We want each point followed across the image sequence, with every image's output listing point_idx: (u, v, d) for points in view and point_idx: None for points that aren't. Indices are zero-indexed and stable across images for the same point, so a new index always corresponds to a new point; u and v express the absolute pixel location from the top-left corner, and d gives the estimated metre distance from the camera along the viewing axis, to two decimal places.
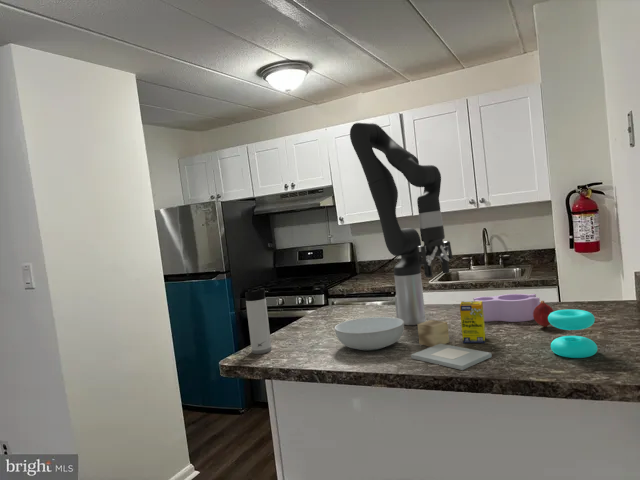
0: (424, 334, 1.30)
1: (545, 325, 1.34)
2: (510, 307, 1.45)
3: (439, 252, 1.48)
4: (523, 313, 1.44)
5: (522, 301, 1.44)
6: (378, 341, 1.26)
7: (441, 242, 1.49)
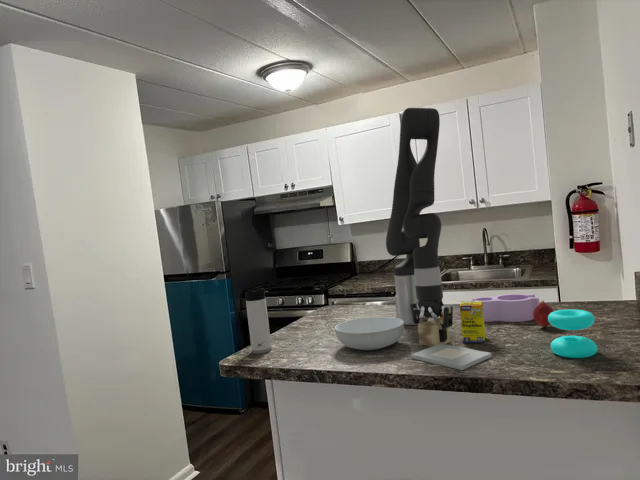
0: (424, 333, 1.30)
1: (545, 325, 1.34)
2: (510, 307, 1.45)
3: None
4: (523, 313, 1.44)
5: (522, 301, 1.44)
6: (378, 341, 1.26)
7: None
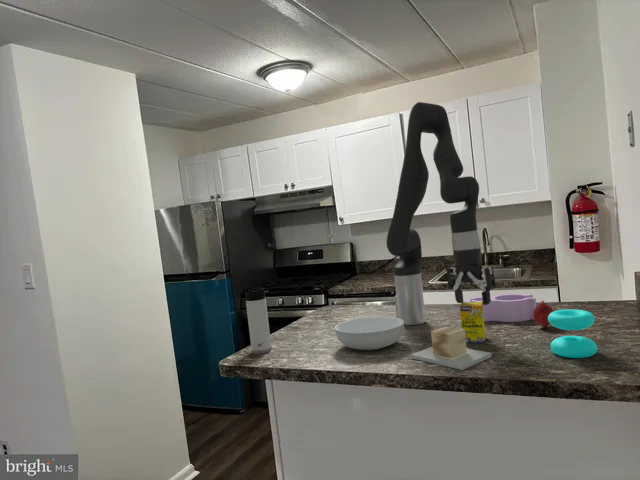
0: (438, 342, 1.16)
1: (545, 325, 1.34)
2: (506, 307, 1.46)
3: None
4: (519, 314, 1.45)
5: (518, 301, 1.45)
6: (378, 341, 1.26)
7: None
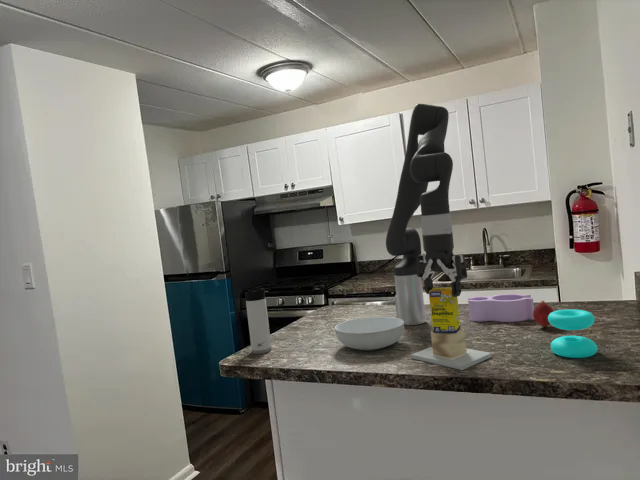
0: (438, 342, 1.16)
1: (545, 325, 1.34)
2: (503, 307, 1.46)
3: None
4: (516, 314, 1.45)
5: (515, 301, 1.45)
6: (378, 341, 1.26)
7: None
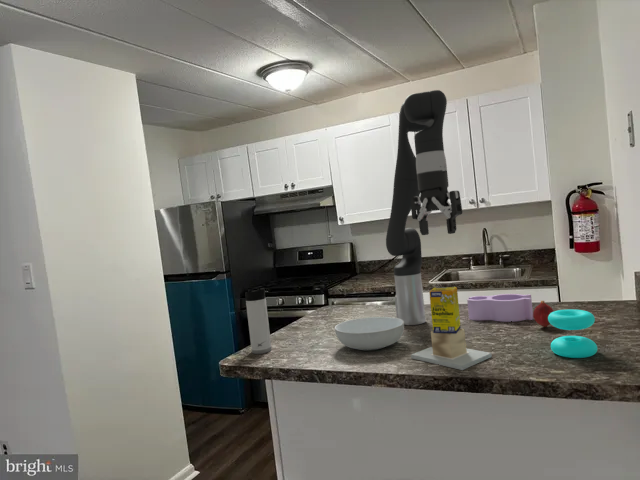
0: (438, 342, 1.16)
1: (545, 325, 1.34)
2: (500, 307, 1.47)
3: None
4: (513, 313, 1.46)
5: (512, 301, 1.45)
6: (378, 341, 1.26)
7: None
